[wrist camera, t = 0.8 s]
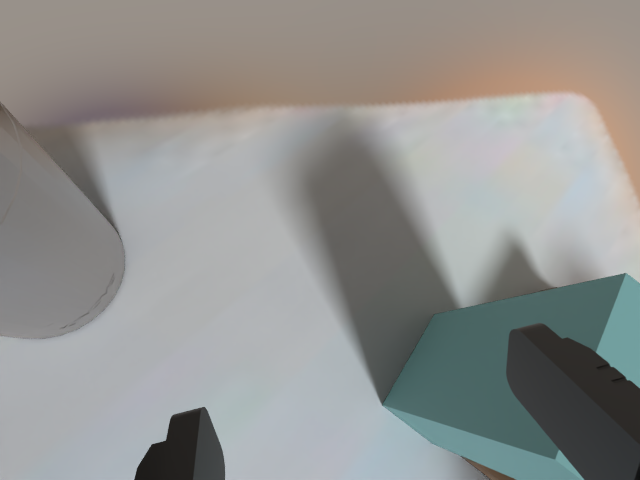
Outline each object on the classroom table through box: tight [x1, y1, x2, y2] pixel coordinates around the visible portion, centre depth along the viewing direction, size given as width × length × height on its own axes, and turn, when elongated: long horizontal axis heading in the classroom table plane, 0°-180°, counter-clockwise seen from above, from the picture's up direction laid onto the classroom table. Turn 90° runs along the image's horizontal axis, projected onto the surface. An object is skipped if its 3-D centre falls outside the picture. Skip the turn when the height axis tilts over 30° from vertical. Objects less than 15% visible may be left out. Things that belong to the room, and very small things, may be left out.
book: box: [382, 273, 640, 480], centre depth 22 cm, size 4×8×16 cm, turn 144°
